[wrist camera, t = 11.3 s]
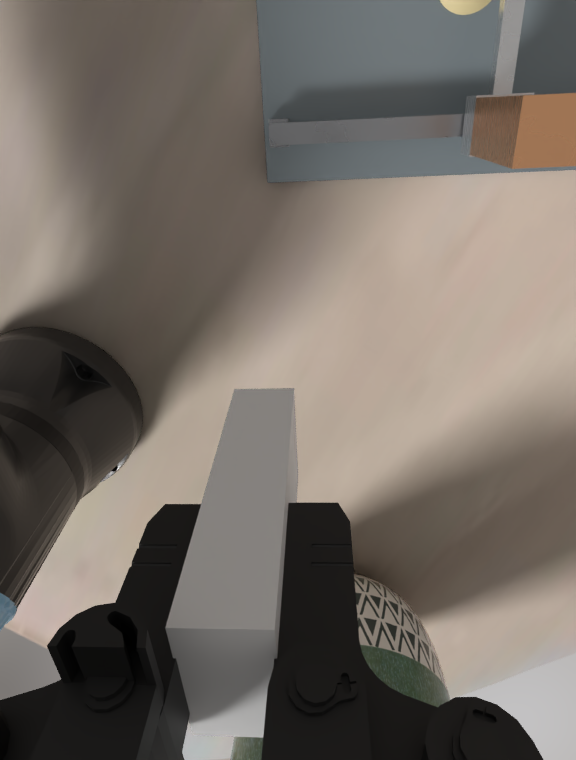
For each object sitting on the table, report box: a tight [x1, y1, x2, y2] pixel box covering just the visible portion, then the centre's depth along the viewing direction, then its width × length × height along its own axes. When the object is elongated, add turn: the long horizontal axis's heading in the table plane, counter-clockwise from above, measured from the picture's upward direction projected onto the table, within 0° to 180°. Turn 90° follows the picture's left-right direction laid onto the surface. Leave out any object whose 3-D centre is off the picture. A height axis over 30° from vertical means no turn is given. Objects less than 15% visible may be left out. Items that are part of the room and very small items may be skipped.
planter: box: [230, 574, 450, 760], centre depth 46 cm, size 20×20×21 cm
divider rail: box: [268, 113, 465, 148], centre depth 28 cm, size 29×10×5 cm, turn 93°
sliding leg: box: [460, 0, 576, 169], centre depth 25 cm, size 3×10×11 cm, turn 3°
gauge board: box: [256, 0, 576, 183], centre depth 30 cm, size 30×14×1 cm, turn 93°
